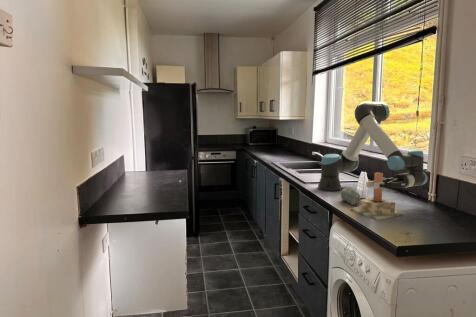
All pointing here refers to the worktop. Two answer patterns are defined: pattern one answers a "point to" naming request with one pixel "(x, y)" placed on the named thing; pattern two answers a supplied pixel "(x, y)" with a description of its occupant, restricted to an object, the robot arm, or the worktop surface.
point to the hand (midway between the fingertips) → (370, 185)
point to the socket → (377, 209)
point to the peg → (378, 192)
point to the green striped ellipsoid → (350, 196)
